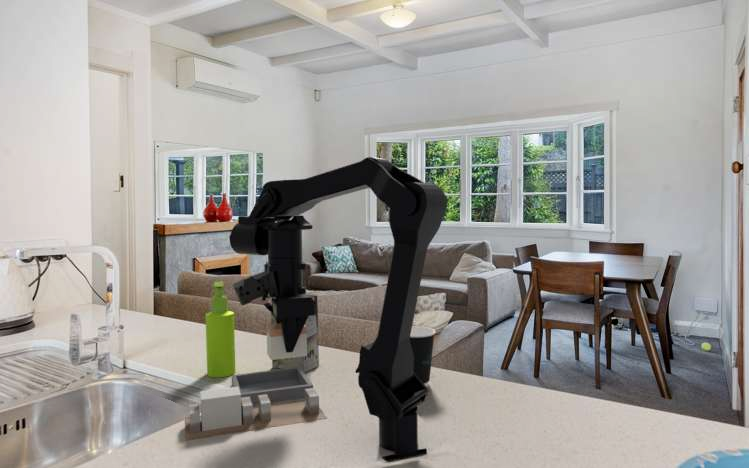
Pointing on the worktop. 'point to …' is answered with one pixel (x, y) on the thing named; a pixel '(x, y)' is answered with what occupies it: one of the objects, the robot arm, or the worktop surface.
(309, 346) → the coffee box
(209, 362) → the soap dispenser
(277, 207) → the robot arm
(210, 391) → the block
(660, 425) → the worktop surface
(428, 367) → the dixie cup
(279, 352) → the block
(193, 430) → the board
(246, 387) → the tray
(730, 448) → the worktop surface
